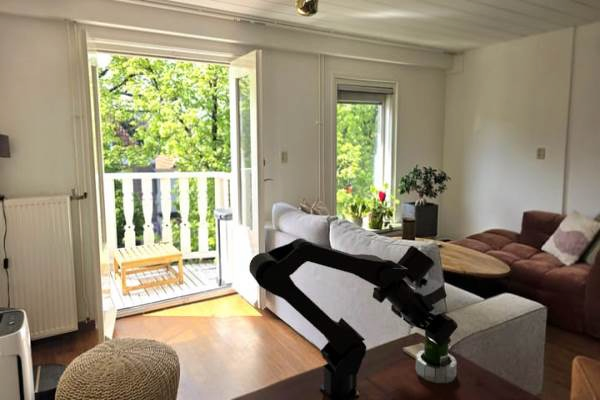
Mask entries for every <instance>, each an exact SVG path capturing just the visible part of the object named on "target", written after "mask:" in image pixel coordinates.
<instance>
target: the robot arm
mask: <svg viewBox="0 0 600 400" xmlns="http://www.w3.org/2000/svg"><path fill="white" fill-rule="evenodd" d="M307 262H309V263H313V264H316V265H320V266H323V267H327V268H331V269H334V270H338V271H342V272H345V273H347V274H348V273H349V274H352V275H354V276H356V277H358V278H361V279H362V280H363V281H365V282H367V283H370V284H372V286H375V287H373V292H372V298H373V299H374V300H376V301H377V302H378V303H380V304H382V303H383V302H384V301H385V300H386V299H387V300H388V302H389V303H390V304H391V309H390V310H391V311H392V312H393V314H395V316H398V318H400V319H402V320H403V321H404V322H405V323H406V324H408V325H411V326H413V327H415V328H418V329H420V330H423V331H424V336H425V335H426V337H427V338H429V339H430V340H431V341H433V342H434V343H436V344H437V345H438V346H442V345H443V344H444V343H445V344H448V345H450V343H451V342H452V339H451V336H452V335H453V334H454V332H455V331H456V330H457V329H458V328H459V327H458V326H459V325H458V323H457V322H456V321H455V320H454V319H453V318H451V317H450V316H449V315H447V314H446V313H442V312H440V313H441V314H437V315H433V314H432V313H430V312H434V309H436V308H435V306H434V305H435V304H436V303H438V302H440V301H441V300H444V299H446V298H447V296H448V295H447V293H446V289H445V287H444V284H443V283H442V282H440V281H438V280H436V279H434V278H433V279H432V278H429V277H428V278H427V279H426V278H425V276H426V275H427V274H428V273H429V272H430V271H431V269H432V268H433V267H434V266H435V264H436V263H435V261H434V259H432V258H431V257H430V256H428V255H426V254H425V253H424V252H422V251H421V250H419V248H418V247H416V246H414V245H410V246H409V247H408V248H407V250H406V252H405V253H404V255H403V256H402V257H401V258H400V259H399V260H398V261H397V262H395V261H393V260H391V259H383V258H381V257H379V256H377V255H374V254H365V253H364V254H363V253H362V254H353V253H349V252H345V251H341V250H340V249H339V250H338V249H335V248H332V247H328V246H325V245H321V244H319V243H314V242H311V241H308V240H307V239H305V238H297V239H294V240H292V241H291V242H288V243H287V244H283V245H281V246H279V247H278V246H277V247H275V248H272V249H271V250H269V251H267V252H260V253H258V254H256V255H254V256H252V259H251V260H250V262H249V267H248V268H249V269H248V270H249V273H250V274H251V276H252V277H253V278H254V280H255V282H256V283H257V284H258V285H259V287H260V288H262V289H264V290H266V291H267V292H269V293H271V294H272V295H274V296H277V297H279V298H281V299H283V300H284V301H285V302H286V303H287V304H289V305H290V306H291V307H292V308H293V309H294V310H295V311H296V312H297V313H298V314H300V315H301V316H302V317H303V318H304V319H305V320H307V322H309V324H311V325H312V326H313V327H314V328H315V329H316V330H317V331H318V332H320V333H321V334H322V335H323V336H324V338H325V339H326V341H327V343H325V345H324V346H323V347H322V348H321V349H320V355H321V356H322V359H323V360H324V361H326V363H327V364H323V365H324V366H323V384H321V385H320V390H322V392H323V393H324V394H325V395H326V397H328V398H329V399H330V400H349V399H352V398H356V397H359V396H360V393H359V391H358V390H357V386H358V374H359V370H360V368H361V364H362V363H363V360H364V358H365V356H366V353H367V345H366V344H365V342H364V341H365V340H366V339H365V337H363V336H362V335H361V334H360V333H359V332H358V330H356V329H355V328H353V326H352V325H350V324H349V323H348V322H347V320H345V319H344V318H343V317H340V319H339V320H338V321H336V320H334V319H333V318H331V317H330V316H329V315H328V314H327V313H326V312H325V311H324V310H323V309H321V307H320V306H318V305H317V303H315V302H314V301H313V300H312V299H311V298H310V297H309V296H308V295H307V294H306V293H304V292H303V291H302V290H301V289H300V288H299V287H298V286H297V285H296V284H295V282H294V281H293V279H292V278H291V276H292V275H293V274H294V273H295V272H297V270H298V269H299V268H301V267H302V266H303V265H304V264H305V263H307ZM406 281H407V282H408V283H410V284H413V283H414V286H415V289H413V288H412V286H410V285H409V284H408V283H407V282H406ZM445 314H446V315H445ZM430 318H431V319H430ZM432 319H433V320H432ZM426 322H427V323H428V324H429V325H428V326H427V328H426V329H425V324H426Z"/></svg>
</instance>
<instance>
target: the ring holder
mask: <svg viewBox="0 0 600 400" xmlns="http://www.w3.org/2000/svg"><path fill="white" fill-rule="evenodd" d="M457 362H458V361H457V359H456V358H455V357H454V355H452V354H451V353H448V359H447V365H446V366H433V365H430V364H427V363H426V362H425V361H424V350H422V351H420V352H418V353H417V355H416V359H415V371H416V374H417V375H418V376H419V377H421V378H422V379H423V380H426V381H429V382H432V383H436V384H447V383H450V382H453V381H455V379H456V377H457V367H458V366H457V365H458V364H457Z"/></svg>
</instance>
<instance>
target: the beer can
mask: <svg viewBox="0 0 600 400" xmlns="http://www.w3.org/2000/svg"><path fill="white" fill-rule="evenodd" d="M430 313H432V314H433V315H437V314H441V313H442V312H437V311H432V312H431V311H430ZM444 314H445V315H447V314H446V313H444ZM430 319H431V318H430ZM432 320H433V319H432ZM428 325H429V324H428V323H427V322H426V324H425V329H426V328H427V326H428ZM423 344H424V361H425V362H426V363H427V364H430V365H433V366H446V365H447V359H448V354H449V344H445V343H444V344H443V345H442V346H438V345H437V344H436V343H434V342H433V341H431V340H430V339H429V338H427V337H426V335H425V334H424V343H423Z"/></svg>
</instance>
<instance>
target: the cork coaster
mask: <svg viewBox="0 0 600 400" xmlns="http://www.w3.org/2000/svg"><path fill="white" fill-rule="evenodd" d="M424 344H425V343H423V342H420V343H418V344H412V345H410V346H409V345H408V346H405V347H402V352H404V353H406V354H407V355H408V356H409V357H411V358H412V359H414V360H416V355H417V353H418V352H420V351H422V350H424Z"/></svg>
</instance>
